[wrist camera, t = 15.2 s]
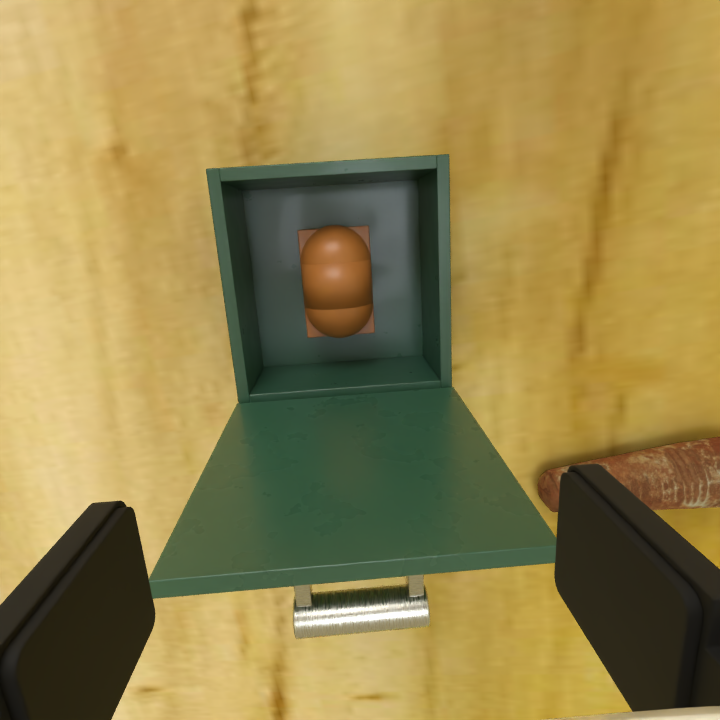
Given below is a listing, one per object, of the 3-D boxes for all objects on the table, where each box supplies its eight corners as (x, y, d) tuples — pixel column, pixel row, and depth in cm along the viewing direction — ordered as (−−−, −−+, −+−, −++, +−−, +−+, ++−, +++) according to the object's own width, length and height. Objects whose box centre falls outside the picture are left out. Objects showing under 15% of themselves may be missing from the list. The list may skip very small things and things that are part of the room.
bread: (725, 482, 46) (776, 516, 41) (531, 504, 46) (557, 541, 40) (732, 423, 44) (787, 449, 39) (531, 444, 44) (559, 474, 38)
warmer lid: (146, 581, 17) (177, 706, 19) (561, 544, 17) (551, 669, 19) (237, 403, 33) (248, 480, 34) (453, 386, 33) (453, 464, 35)
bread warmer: (232, 181, 37) (205, 168, 29) (426, 169, 37) (449, 154, 30) (256, 373, 41) (238, 406, 33) (430, 360, 41) (451, 390, 34)
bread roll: (299, 227, 37) (294, 227, 32) (366, 223, 37) (371, 222, 32) (309, 332, 39) (306, 347, 34) (372, 327, 39) (377, 342, 34)
